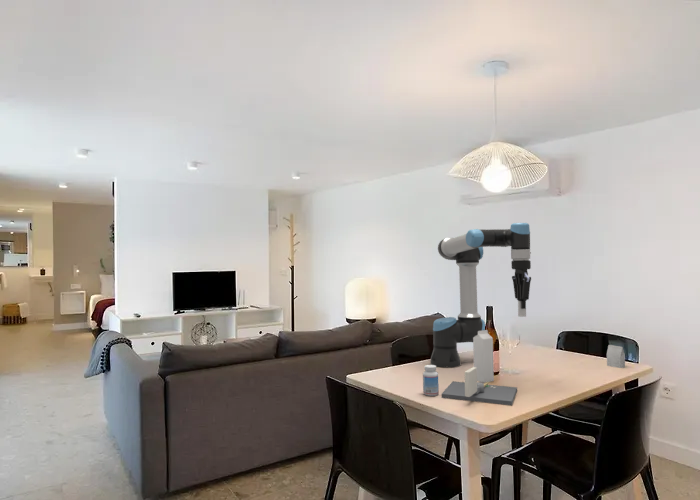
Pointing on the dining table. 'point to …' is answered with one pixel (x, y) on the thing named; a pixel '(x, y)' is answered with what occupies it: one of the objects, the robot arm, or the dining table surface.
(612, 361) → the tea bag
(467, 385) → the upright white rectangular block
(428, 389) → the pill bottle
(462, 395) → the dark grey flat slab
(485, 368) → the milk
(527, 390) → the dining table surface
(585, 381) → the dining table surface
